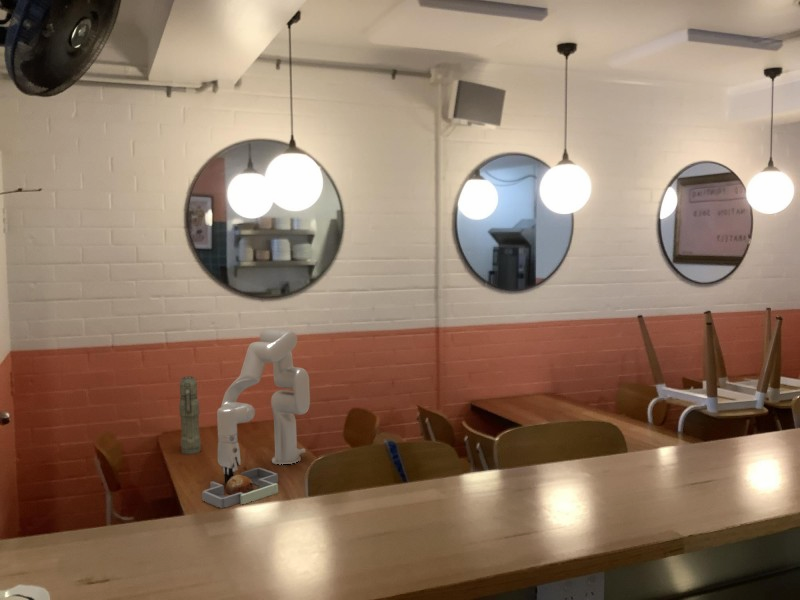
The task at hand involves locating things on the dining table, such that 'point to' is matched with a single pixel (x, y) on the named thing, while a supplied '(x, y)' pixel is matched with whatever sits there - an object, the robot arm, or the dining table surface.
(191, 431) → the grey green carved statue
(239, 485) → the bread roll
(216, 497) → the channel
